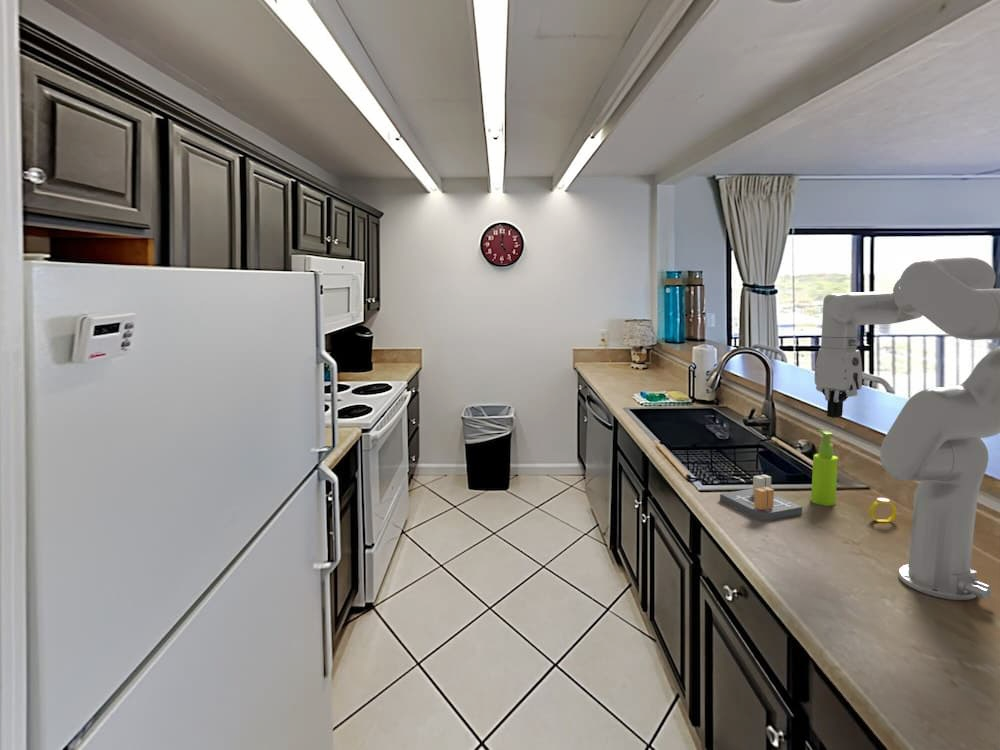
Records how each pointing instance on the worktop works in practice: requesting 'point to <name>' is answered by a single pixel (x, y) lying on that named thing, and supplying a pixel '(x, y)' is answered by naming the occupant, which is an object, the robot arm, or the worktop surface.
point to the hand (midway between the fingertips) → (834, 416)
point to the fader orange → (763, 498)
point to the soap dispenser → (824, 473)
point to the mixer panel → (746, 504)
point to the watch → (883, 501)
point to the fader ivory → (761, 482)
